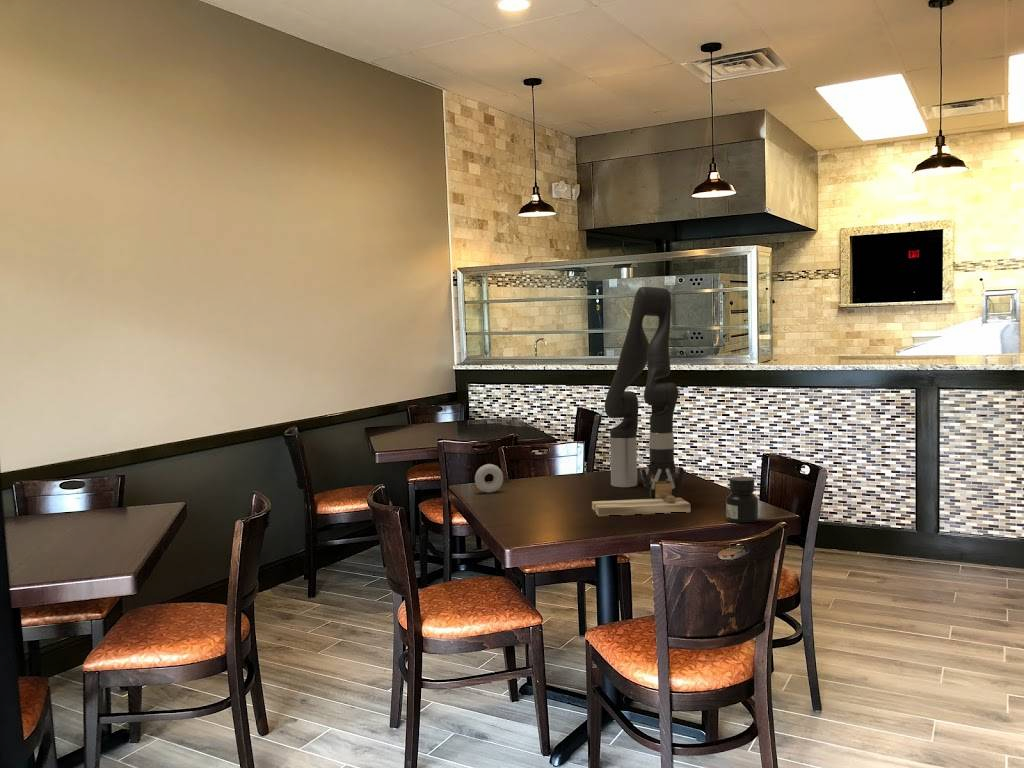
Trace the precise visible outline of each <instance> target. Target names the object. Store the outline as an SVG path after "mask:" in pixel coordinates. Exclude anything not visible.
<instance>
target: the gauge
mask: <svg viewBox="0 0 1024 768" xmlns="http://www.w3.org/2000/svg"><path fill="white" fill-rule="evenodd" d="M659 498H663V499H664V500H665V501H667V502H668V503H674V502H675V498H676V496H675V497H674V496H673V495H672V483H669V482H667V480H664V481H658V482H657V483H656V484H655V499H659Z"/></svg>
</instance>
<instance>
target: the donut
mask: <svg viewBox="0 0 1024 768" xmlns="http://www.w3.org/2000/svg"><path fill="white" fill-rule="evenodd" d="M489 474H490V475H492V477H493V480H492V481H490V482H486V480H485V478H486V476H487V475H489ZM503 482H504V475H503V472H502V470H501V468H499V466H498V465H495V464H492V463H487V464H484V465H482V466H480V467H479V468H478V469H477V471H476V472H475V475H474V483H475V485H476V487H477V488H478V490H479V491H481V492H483V493H485V494H486V493H487V494H490V493H494V492H497V490H499V489H500V488H501V486H502V484H503Z"/></svg>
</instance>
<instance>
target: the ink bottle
mask: <svg viewBox="0 0 1024 768" xmlns="http://www.w3.org/2000/svg"><path fill="white" fill-rule="evenodd" d="M729 491H730V493H729V494H728V495H726V497H725V500H726V501H725V504H726V505H725V512H726V513H725V516H726V520H727V521H729V522H731V521H732V523H737V522H738V523H739V524H751V523H756V522H757V521H758V520H759V498H758V497H757V496H756V495H755V493H754V492H755V478H753V477H748V476H733V477H730V478H729ZM738 523H737V524H738Z"/></svg>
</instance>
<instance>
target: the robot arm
mask: <svg viewBox="0 0 1024 768" xmlns="http://www.w3.org/2000/svg"><path fill="white" fill-rule="evenodd" d="M633 300H634V301H633V304H632V308H631V309H632V310H631V315H630V319H629V324H628V329H627V332H626V336H625V339H624V342H623V345H622V347H621V351H620V355H619V360H618V363H617V366H616V369H615V373H614V375H613V379H612V382H611V384H610V387H609V389H608V391H607V394H606V397H605V401H604V412H605V414H606V416H607V418H611V419H621V418H623V419H622V421H621V422H620V423H619V424H618V425H616V426H614V427H612V428H611V429H610V431H609V436H610V438H609V439H610V441H609V442H610V443H609V444H610V447H609V449H610V451H609V452H610V486H612V487H615V488H631V487H632V488H633V487H636V486H638V453H637V451H638V449H637V448H638V446H637V443H638V442H637V441H638V439H637V432H638V429H639V427H638V425H639V399H638V398H639V397H638V395H637V394H636V392H634V391H633V390H632V391H631V390H627V388H628V386H629V385H630V384H631V383H632V382H633V381H634V380H635V379H637V377H639V375H641V373H642V372H643V371H644V369H645V367H646V366H647V377H646V378H647V379H646V383H645V386H644V391H643V400H644V402H645V404H647V405H648V406H652V407H653V406H665V407H664V410H662V411H659V412H655V413H651V415H650V416H649V443H648V444H649V446H648V447H649V452H648V453H649V464H648V466H647V467H644V468H643V467H641V468H640V469H639V473H640V477H641V479H642V484H643V487H644V488H647V489H649V499H655V484H656V483H657V482H659V480H661V479H664V480H665V481H667V482H669V483H672V495H673V496H674V497H675V498H676V496H675V489H676V488H677V487H680V486H681V484H682V480H683V475H684V471H685V469H684V468H683V467H682V466H676V464H675V455H674V454H675V453H674V452H675V440H674V414H675V409H676V407H677V403H678V402H677V401H678V398H679V389H678V387H677V385H676V383H674V382H656V380H659V379H662V378H665V377H668V376H669V375H670V374H671V360H670V332H671V331H670V330H671V320H672V319H671V318H672V316H671V314H672V296H671V293H670V291H669V290H668V289H667V288H663V287H657V286H656V287H652V286H641V287H639V288H638V289H637V291H636V292H635V296H634V299H633ZM645 316H646V317H647V316H649V317H658V325H657V326H658V327H657V329H656V331H655V333H654V335H653V337H652V338H651V340H650V342H649V339H648V338H647V336H646V333H645V329H644V326H643V323H644V317H645ZM626 390H627V391H626ZM649 472H650V474H651V477H650V482H649V480H648V475H649ZM674 472H675V474H676V475H675V479H673V477H672V475H673V473H674Z"/></svg>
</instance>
